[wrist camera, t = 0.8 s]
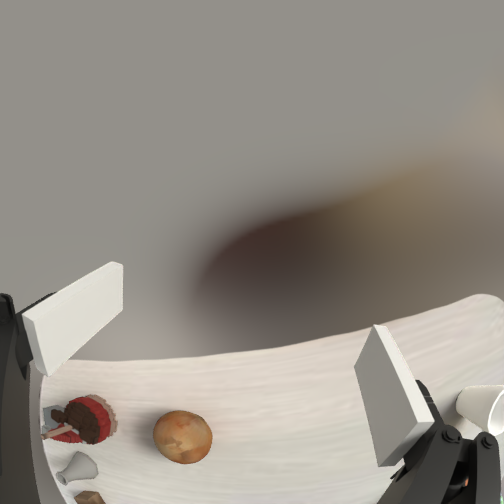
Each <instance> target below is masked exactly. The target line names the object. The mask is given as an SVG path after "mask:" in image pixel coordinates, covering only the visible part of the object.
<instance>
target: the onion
mask: <svg viewBox="0 0 504 504" xmlns="http://www.w3.org/2000/svg"><path fill="white" fill-rule="evenodd" d="M153 438H154V442H155V445H156V447H157V448H158V450H159V451H160V452H161V454H163V455H164V456H165V457H166V458H168V459H169V460H171V461H173V462H177V463H180V464H191V463H196V462H198V461H200V460H201V459H203V458H204V457H205V456H206V455H207V454H208V452H209V450H210V448H211V444H212V432H211V429H210V428H209V426H208V425H207V423H206V422H205V420H204V419H203V418H202V417H200V416H198V415H196V414H193V413H190V412H187V411H173V412H169V413H167V414H165V415H164V416H162V417H161V418H160V419H159V420H158V421H157V423H156V425H155V427H154V431H153Z"/></svg>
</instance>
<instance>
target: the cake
mask: <svg viewBox="0 0 504 504" xmlns="http://www.w3.org/2000/svg"><path fill="white" fill-rule="evenodd" d="M115 415H116V414H114V413H113V410H112V409H111V406H110V405H108V404H106V400H104V399H103V398H101V397H99V396H97V395H94V396H92V395H88V396H86V397H80V398H76V399H74V400H72V401H69V404H67V405H66V408H65V409H64V412H62V411H61V410H56V409H53V410H51V418H52V419H53V420H54V421H56V422H57V423H60V424H59V425H58V426H57V428H55V429H52V428H51V427H49V426H48V425H47V426H46V425H43V426H42V434H41V438H42V439H43V440H45V439H48V438H52V439H54V440H57V441H58V440H59V441H62V442H67V443H68V442H69V443H75V442H76V443H79V442H81V443H82V444H83V443H84V444H92V445H94V444H97V443H100V442H102V441H103V440H105V439H106V438H107V437H109V436H112V435H113V432H114V433H115V432H116V429H117V422H118V421H116V420H115Z"/></svg>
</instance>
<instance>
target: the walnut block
mask: <svg viewBox="0 0 504 504" xmlns="http://www.w3.org/2000/svg"><path fill="white" fill-rule="evenodd" d="M74 499H75V500H76V502H77V504H105V502H104V501H103V499H102V498H101V496H100V494H99V493H98V492H93V491H83V492H82V493H80V494H79V495H77V496H76V497H74Z"/></svg>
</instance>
